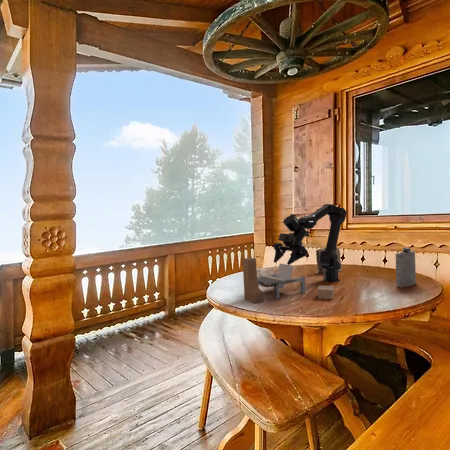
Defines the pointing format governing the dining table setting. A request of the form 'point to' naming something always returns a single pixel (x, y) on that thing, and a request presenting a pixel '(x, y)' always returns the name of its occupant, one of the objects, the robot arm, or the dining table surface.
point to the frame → (282, 284)
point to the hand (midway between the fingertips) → (280, 263)
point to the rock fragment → (260, 276)
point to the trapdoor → (273, 279)
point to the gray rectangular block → (284, 271)
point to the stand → (325, 292)
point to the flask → (405, 268)
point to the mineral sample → (319, 268)
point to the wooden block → (251, 281)
